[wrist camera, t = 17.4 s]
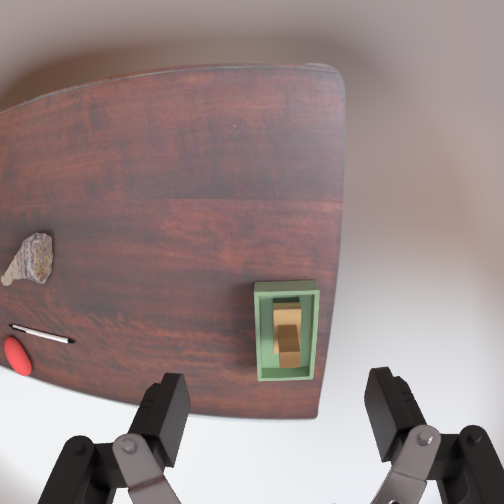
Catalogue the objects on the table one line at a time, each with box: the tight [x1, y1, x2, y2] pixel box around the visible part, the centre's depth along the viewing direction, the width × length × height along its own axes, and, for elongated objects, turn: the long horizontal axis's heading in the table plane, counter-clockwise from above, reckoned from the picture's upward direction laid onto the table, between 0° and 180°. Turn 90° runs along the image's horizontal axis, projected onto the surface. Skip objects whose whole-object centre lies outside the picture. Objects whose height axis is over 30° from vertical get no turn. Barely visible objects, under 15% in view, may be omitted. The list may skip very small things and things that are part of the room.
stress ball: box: [4, 337, 32, 376], centre depth 48 cm, size 5×9×6 cm, turn 3°
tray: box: [254, 280, 320, 381], centre depth 43 cm, size 15×8×3 cm, turn 2°
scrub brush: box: [273, 297, 301, 368], centre depth 38 cm, size 7×4×10 cm, turn 2°
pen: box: [9, 324, 76, 343], centre depth 47 cm, size 1×19×1 cm, turn 87°
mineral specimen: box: [1, 233, 53, 286], centre depth 40 cm, size 13×7×6 cm, turn 126°
